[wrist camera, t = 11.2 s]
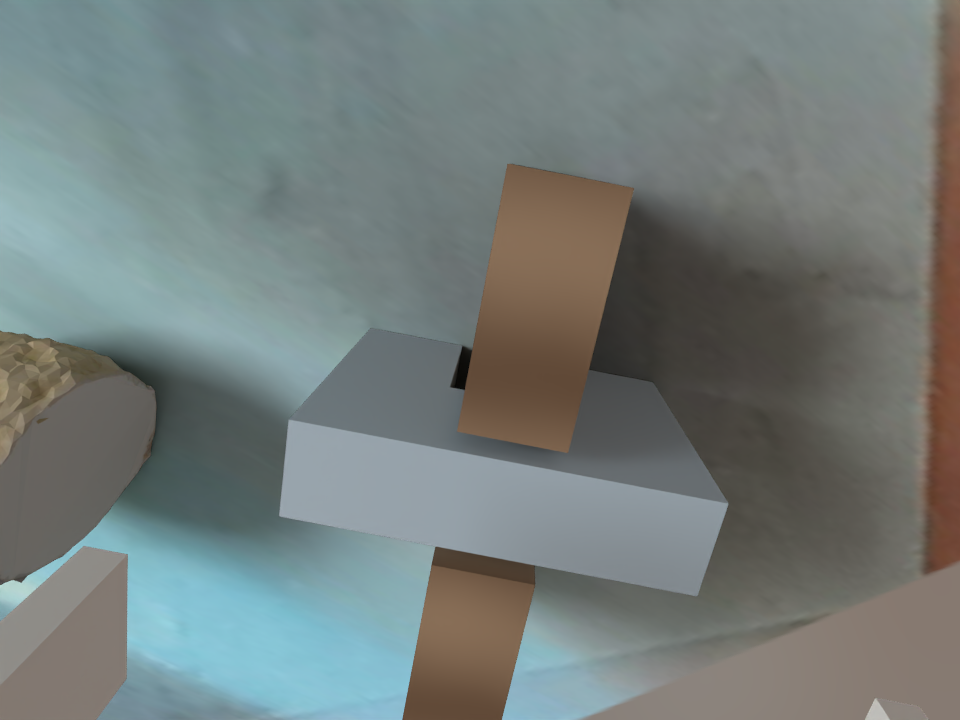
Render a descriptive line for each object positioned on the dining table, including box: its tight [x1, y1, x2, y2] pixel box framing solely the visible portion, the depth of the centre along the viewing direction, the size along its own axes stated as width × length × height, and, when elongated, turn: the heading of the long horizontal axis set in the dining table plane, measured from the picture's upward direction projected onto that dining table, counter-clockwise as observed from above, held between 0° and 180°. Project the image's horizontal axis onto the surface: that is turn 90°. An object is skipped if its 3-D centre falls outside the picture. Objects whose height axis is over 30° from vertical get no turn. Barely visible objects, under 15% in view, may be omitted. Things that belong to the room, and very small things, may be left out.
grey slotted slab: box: [279, 328, 728, 596], centre depth 22 cm, size 12×3×10 cm, turn 80°
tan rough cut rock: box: [0, 331, 157, 585], centre depth 24 cm, size 10×10×10 cm
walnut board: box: [402, 164, 634, 720], centre depth 22 cm, size 18×3×10 cm, turn 169°
